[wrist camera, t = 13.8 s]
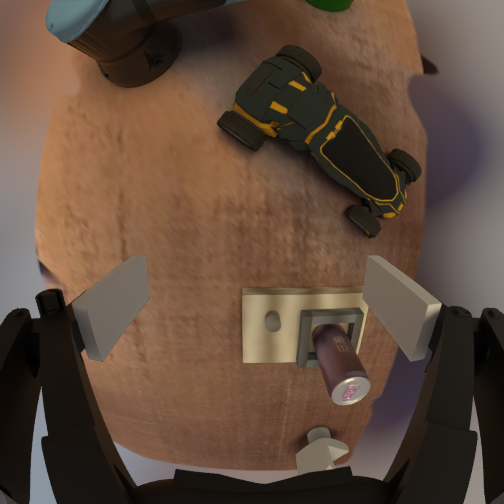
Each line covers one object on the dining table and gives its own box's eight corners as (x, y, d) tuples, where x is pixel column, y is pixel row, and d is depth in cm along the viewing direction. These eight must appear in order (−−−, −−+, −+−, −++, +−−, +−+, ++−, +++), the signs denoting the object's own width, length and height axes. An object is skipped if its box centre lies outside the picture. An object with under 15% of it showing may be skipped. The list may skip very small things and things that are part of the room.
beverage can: (306, 346, 46) (323, 406, 32) (317, 318, 45) (340, 375, 30) (336, 349, 47) (360, 406, 32) (347, 322, 45) (378, 376, 31)
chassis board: (243, 353, 50) (242, 373, 45) (242, 287, 46) (241, 303, 41) (352, 348, 50) (361, 366, 44) (364, 285, 46) (377, 299, 41)
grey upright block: (317, 444, 60) (328, 501, 41) (293, 436, 58) (301, 498, 39) (342, 427, 58) (359, 486, 39) (318, 419, 56) (333, 483, 37)
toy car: (278, 54, 36) (284, 26, 26) (416, 172, 41) (449, 175, 31) (216, 125, 39) (205, 112, 30) (365, 243, 44) (390, 260, 35)
